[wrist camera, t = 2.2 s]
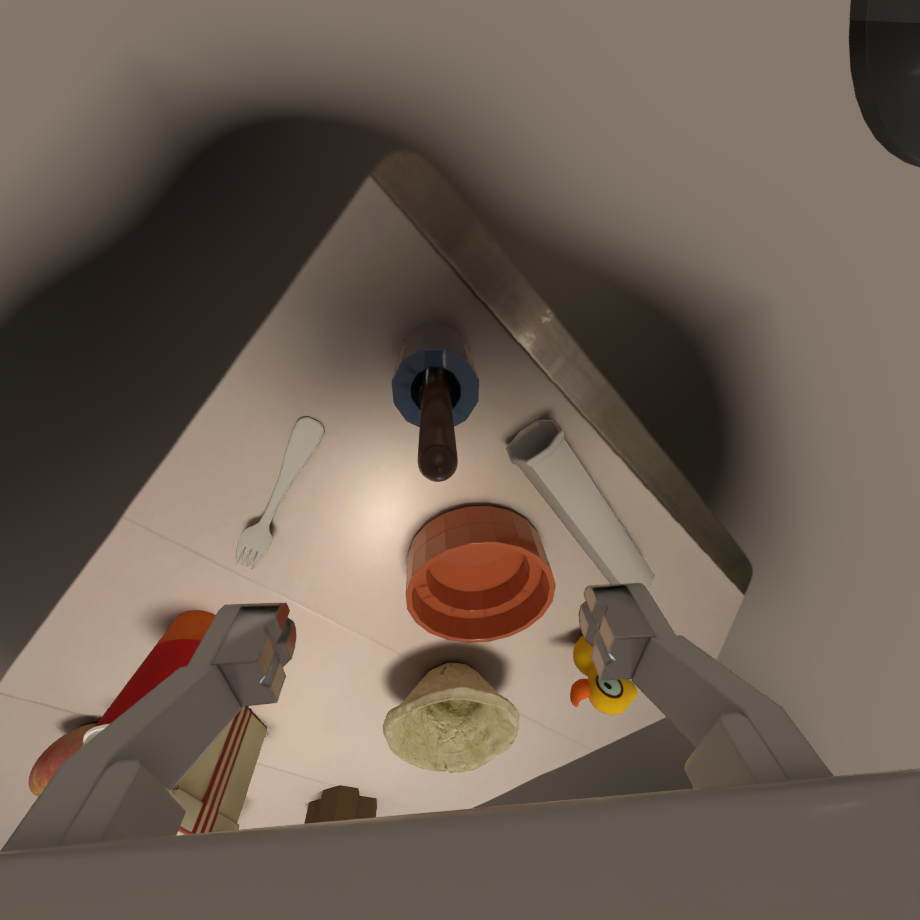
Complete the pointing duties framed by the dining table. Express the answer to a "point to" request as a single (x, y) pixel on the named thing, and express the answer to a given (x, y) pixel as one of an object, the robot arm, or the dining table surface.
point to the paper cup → (159, 664)
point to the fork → (281, 487)
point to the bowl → (451, 721)
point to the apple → (56, 757)
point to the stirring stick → (436, 427)
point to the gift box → (221, 777)
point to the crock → (434, 350)
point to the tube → (577, 502)
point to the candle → (340, 806)
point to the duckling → (599, 684)
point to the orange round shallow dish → (478, 575)
